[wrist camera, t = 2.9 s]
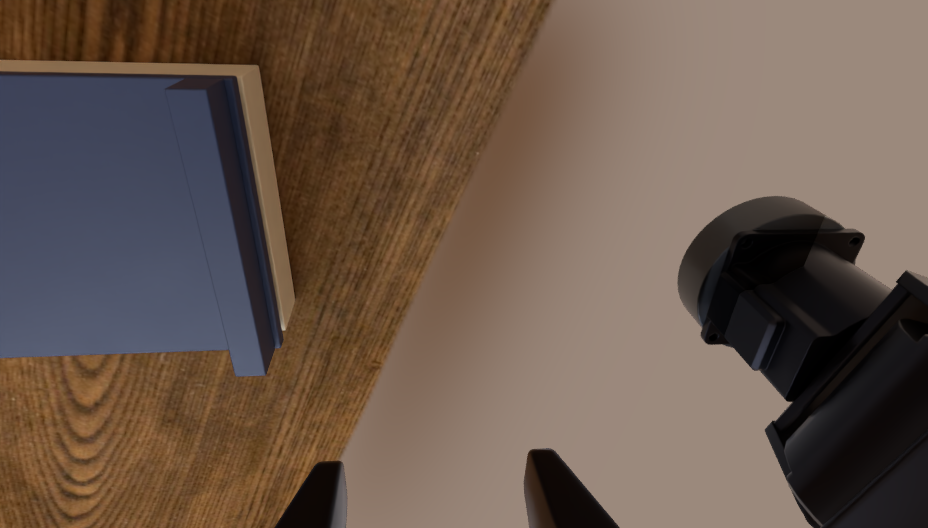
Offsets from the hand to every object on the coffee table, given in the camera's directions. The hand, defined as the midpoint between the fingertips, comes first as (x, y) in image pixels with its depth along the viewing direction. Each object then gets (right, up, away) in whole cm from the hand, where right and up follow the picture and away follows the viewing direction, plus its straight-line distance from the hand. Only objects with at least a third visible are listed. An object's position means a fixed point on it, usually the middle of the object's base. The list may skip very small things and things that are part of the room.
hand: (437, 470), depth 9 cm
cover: (-14, +5, +7) cm, 16 cm away
